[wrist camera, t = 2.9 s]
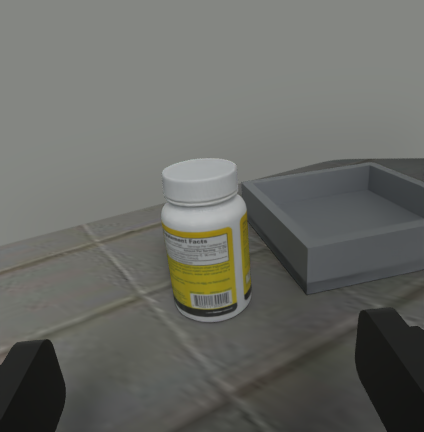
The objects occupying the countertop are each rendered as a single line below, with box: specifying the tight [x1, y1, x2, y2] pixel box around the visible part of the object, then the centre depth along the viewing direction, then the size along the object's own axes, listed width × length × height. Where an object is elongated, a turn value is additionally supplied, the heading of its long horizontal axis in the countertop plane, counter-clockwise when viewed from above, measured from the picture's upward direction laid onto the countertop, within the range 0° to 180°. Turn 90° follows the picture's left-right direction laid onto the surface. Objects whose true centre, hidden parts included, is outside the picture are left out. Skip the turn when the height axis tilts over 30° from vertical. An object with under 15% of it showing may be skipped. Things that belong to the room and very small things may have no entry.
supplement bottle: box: [161, 158, 252, 322], centre depth 21 cm, size 5×5×8 cm
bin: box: [241, 162, 424, 295], centre depth 29 cm, size 13×13×3 cm
